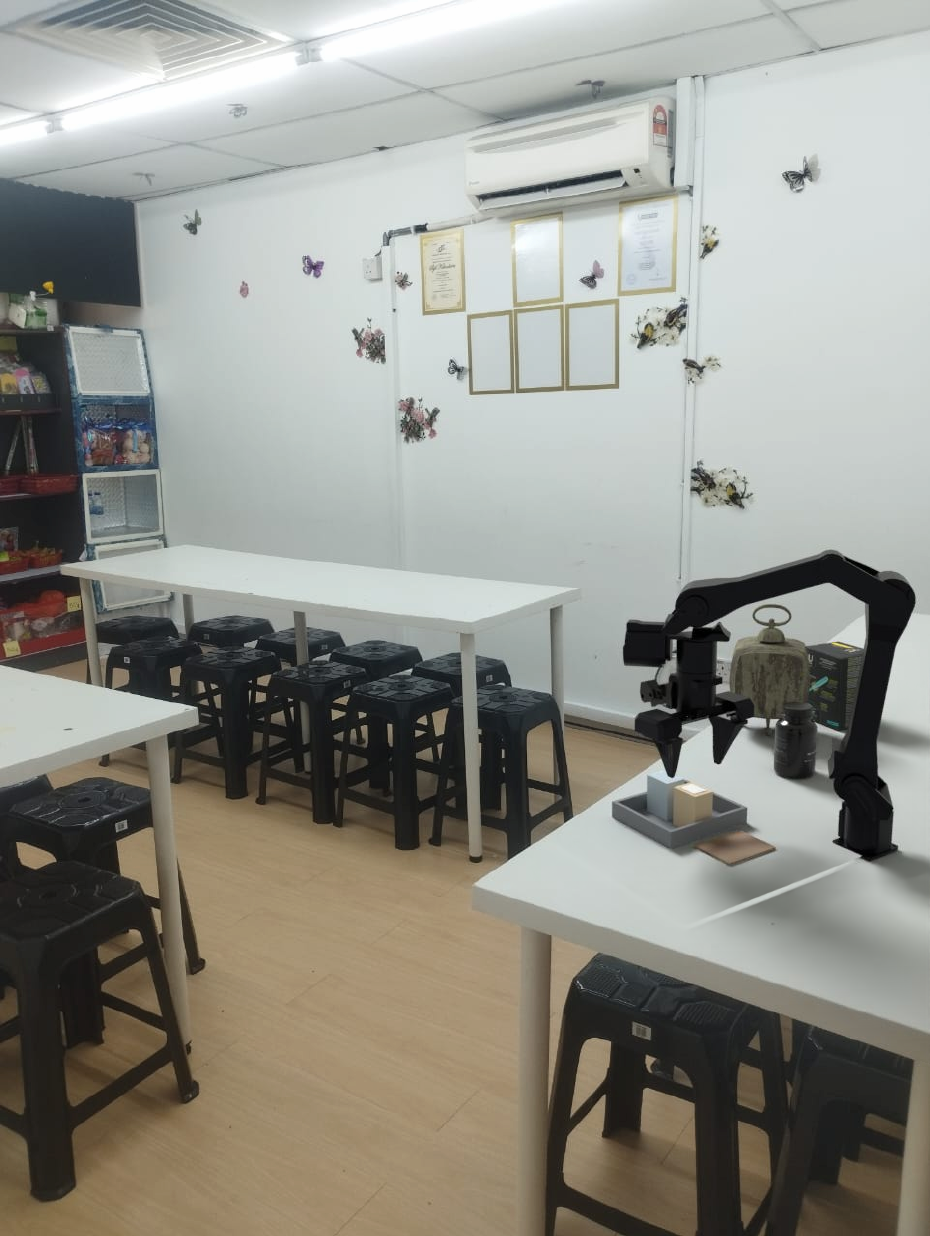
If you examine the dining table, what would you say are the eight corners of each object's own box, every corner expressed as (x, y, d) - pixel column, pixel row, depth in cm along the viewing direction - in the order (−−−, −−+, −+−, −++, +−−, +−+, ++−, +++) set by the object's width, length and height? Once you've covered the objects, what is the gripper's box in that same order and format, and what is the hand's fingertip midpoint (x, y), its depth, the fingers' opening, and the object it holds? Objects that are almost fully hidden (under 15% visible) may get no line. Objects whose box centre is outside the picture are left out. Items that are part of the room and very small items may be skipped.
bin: (746, 825, 146) (747, 807, 146) (670, 851, 139) (670, 832, 138) (685, 797, 158) (686, 779, 157) (612, 819, 150) (612, 801, 150)
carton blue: (683, 815, 150) (684, 778, 148) (666, 820, 148) (667, 783, 147) (663, 805, 154) (664, 769, 152) (646, 810, 152) (647, 774, 150)
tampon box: (875, 724, 189) (880, 651, 185) (837, 732, 185) (841, 658, 182) (835, 709, 198) (838, 639, 195) (798, 715, 195) (801, 645, 192)
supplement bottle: (818, 781, 162) (821, 712, 160) (775, 779, 164) (778, 711, 161) (812, 765, 169) (815, 700, 166) (771, 764, 170) (773, 698, 168)
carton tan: (711, 829, 145) (712, 790, 143) (694, 835, 143) (695, 796, 142) (690, 818, 148) (691, 781, 147) (673, 824, 147) (673, 786, 145)
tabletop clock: (806, 726, 189) (812, 601, 183) (807, 742, 180) (814, 611, 175) (729, 721, 193) (733, 598, 187) (727, 736, 185) (730, 608, 179)
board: (775, 852, 138) (775, 847, 138) (729, 869, 133) (729, 863, 133) (738, 834, 144) (738, 829, 144) (693, 849, 139) (693, 844, 139)
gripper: (704, 647, 152) (702, 742, 155) (610, 667, 143) (610, 767, 146) (758, 662, 142) (755, 763, 146) (661, 685, 133) (660, 791, 137)
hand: (694, 770), depth 144 cm, fingers open, 9 cm apart
